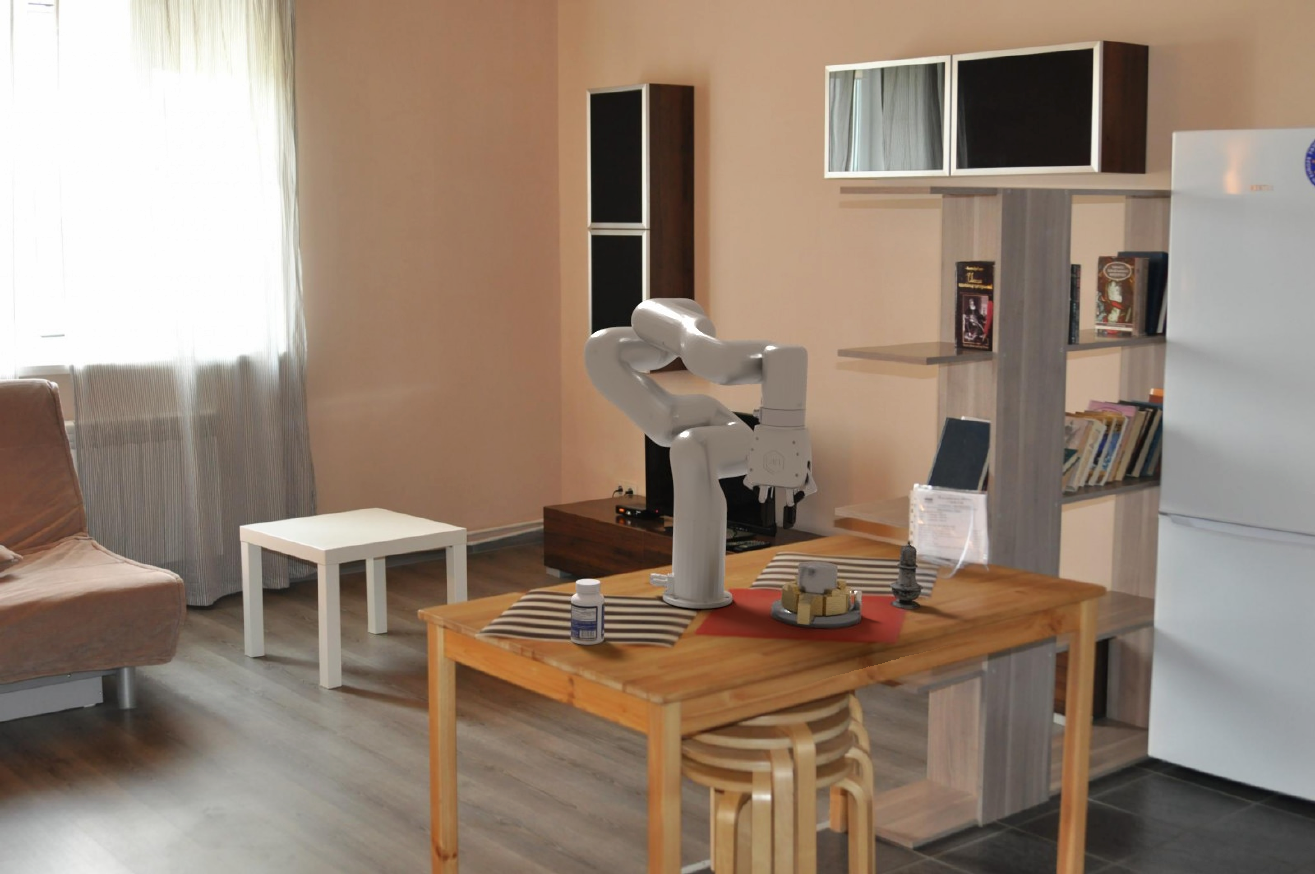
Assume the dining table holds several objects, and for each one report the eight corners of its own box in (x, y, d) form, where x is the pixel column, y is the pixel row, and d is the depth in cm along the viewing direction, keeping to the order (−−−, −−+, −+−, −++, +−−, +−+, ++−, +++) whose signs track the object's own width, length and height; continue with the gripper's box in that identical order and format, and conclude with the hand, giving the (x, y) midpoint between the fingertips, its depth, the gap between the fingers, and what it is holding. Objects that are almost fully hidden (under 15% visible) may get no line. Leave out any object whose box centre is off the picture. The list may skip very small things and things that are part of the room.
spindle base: (762, 622, 227) (764, 571, 226) (780, 600, 242) (782, 552, 241) (853, 632, 223) (856, 580, 222) (866, 609, 238) (869, 560, 236)
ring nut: (789, 594, 239) (790, 572, 239) (854, 601, 236) (855, 578, 235) (768, 620, 222) (769, 596, 222) (837, 627, 219) (839, 603, 218)
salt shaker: (921, 610, 238) (925, 545, 237) (888, 607, 239) (892, 542, 238) (922, 602, 244) (925, 538, 242) (889, 599, 245) (893, 536, 243)
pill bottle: (586, 634, 218) (587, 575, 216) (610, 640, 214) (612, 581, 213) (563, 640, 214) (564, 581, 212) (588, 647, 210) (589, 587, 209)
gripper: (728, 416, 222) (724, 524, 225) (820, 425, 214) (814, 536, 217) (747, 412, 229) (743, 517, 231) (837, 420, 221) (831, 529, 223)
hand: (778, 525), depth 224 cm, fingers open, 3 cm apart
